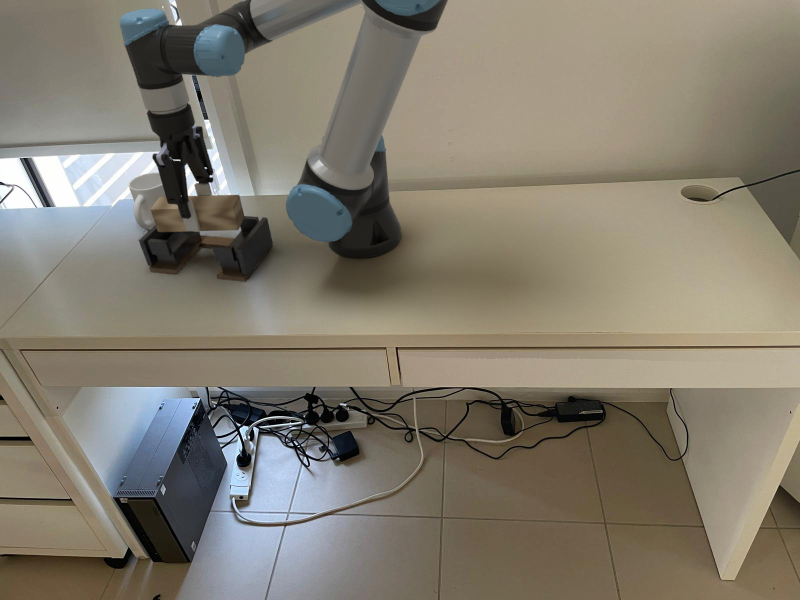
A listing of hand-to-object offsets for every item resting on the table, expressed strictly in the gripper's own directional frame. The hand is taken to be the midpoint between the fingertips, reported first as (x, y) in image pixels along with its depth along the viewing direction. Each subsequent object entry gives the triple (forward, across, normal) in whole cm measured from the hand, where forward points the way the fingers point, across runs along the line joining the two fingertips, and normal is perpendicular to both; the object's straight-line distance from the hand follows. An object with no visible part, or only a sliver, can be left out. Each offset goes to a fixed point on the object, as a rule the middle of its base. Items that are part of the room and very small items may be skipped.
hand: (201, 221), depth 125 cm
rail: (+1, 0, 0) cm, 1 cm away
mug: (+9, -10, -19) cm, 23 cm away
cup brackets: (+9, 0, 0) cm, 9 cm away
